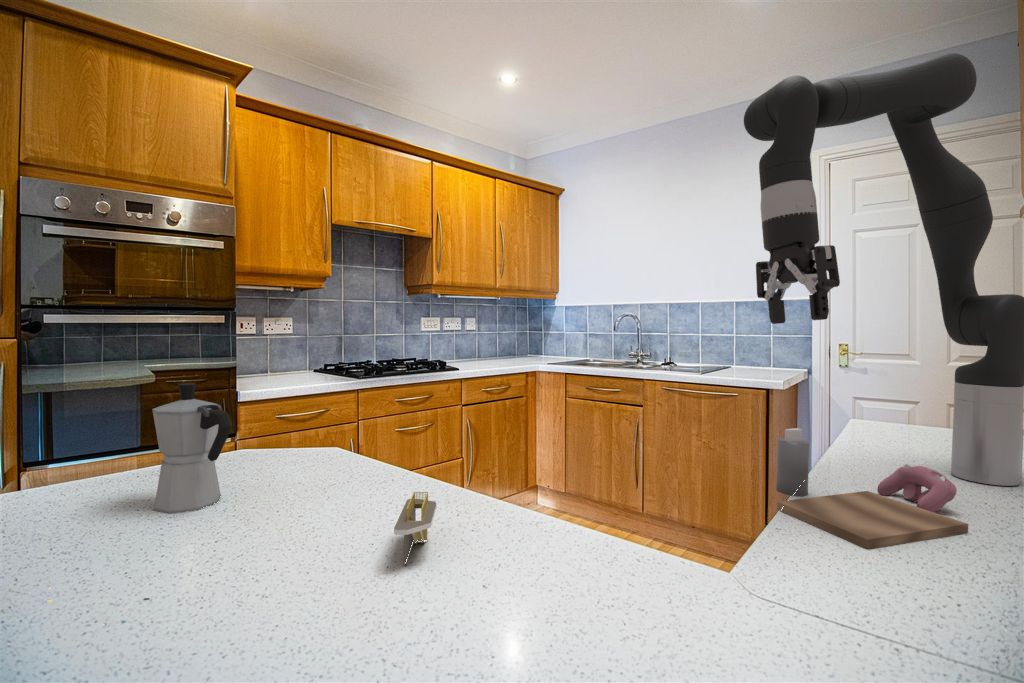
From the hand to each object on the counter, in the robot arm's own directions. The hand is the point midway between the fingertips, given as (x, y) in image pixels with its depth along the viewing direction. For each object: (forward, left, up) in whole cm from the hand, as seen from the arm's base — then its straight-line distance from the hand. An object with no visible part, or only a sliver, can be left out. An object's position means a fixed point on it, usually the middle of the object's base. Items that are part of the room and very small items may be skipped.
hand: (797, 321), depth 78 cm
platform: (+58, +1, -29) cm, 64 cm away
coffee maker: (+88, -24, -28) cm, 95 cm away
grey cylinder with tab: (-4, -4, -28) cm, 29 cm away
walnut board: (-4, +9, -28) cm, 30 cm away
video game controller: (-18, +6, -28) cm, 34 cm away
